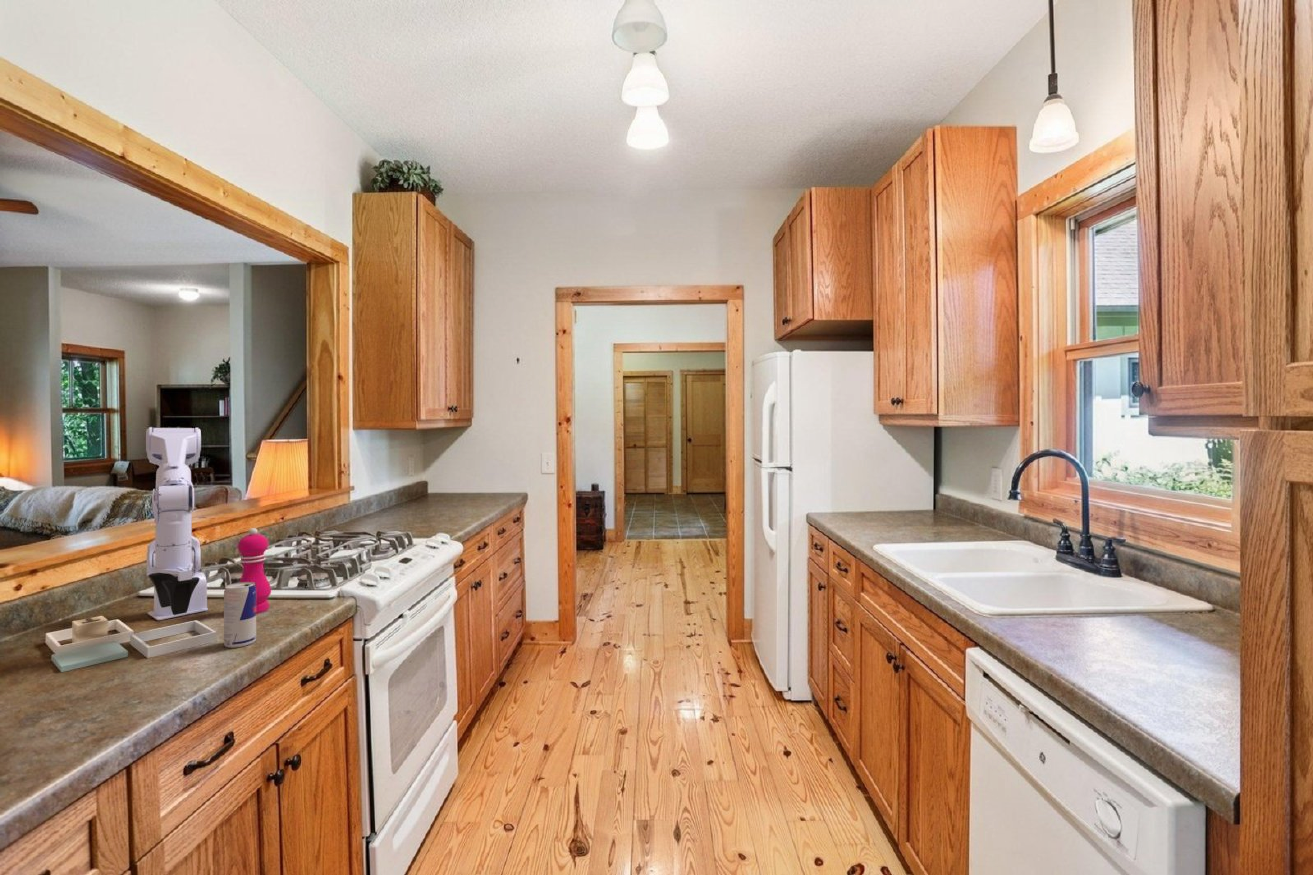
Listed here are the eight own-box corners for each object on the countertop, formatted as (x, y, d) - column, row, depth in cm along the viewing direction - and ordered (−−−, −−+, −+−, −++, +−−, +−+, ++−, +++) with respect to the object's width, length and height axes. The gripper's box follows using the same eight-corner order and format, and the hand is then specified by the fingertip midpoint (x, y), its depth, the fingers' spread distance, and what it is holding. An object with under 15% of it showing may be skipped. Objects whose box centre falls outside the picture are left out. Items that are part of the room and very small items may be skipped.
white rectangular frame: (196, 629, 126) (196, 620, 126) (216, 641, 119) (216, 631, 119) (130, 644, 117) (130, 634, 117) (147, 658, 110) (147, 647, 110)
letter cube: (102, 636, 121) (102, 615, 121) (107, 641, 119) (107, 619, 119) (72, 643, 118) (72, 620, 118) (77, 648, 115) (77, 625, 115)
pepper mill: (236, 617, 134) (236, 531, 134) (233, 610, 140) (233, 527, 139) (273, 611, 139) (273, 528, 139) (268, 604, 144) (268, 524, 144)
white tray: (118, 628, 126) (118, 619, 126) (133, 640, 119) (133, 630, 119) (45, 643, 117) (45, 633, 117) (57, 657, 110) (57, 646, 110)
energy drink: (262, 640, 120) (262, 583, 120) (236, 649, 115) (236, 589, 115) (244, 637, 122) (244, 580, 122) (217, 646, 117) (217, 587, 117)
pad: (115, 646, 116) (115, 641, 116) (127, 656, 111) (127, 651, 111) (51, 660, 109) (51, 654, 109) (61, 672, 104) (61, 666, 104)
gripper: (137, 542, 119) (137, 607, 119) (159, 551, 111) (159, 622, 111) (180, 537, 125) (180, 599, 125) (204, 546, 116) (204, 613, 116)
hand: (173, 609), depth 118 cm, fingers open, 7 cm apart
